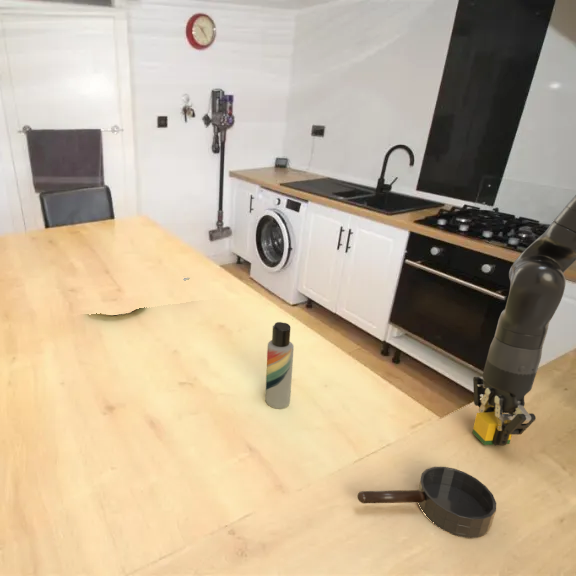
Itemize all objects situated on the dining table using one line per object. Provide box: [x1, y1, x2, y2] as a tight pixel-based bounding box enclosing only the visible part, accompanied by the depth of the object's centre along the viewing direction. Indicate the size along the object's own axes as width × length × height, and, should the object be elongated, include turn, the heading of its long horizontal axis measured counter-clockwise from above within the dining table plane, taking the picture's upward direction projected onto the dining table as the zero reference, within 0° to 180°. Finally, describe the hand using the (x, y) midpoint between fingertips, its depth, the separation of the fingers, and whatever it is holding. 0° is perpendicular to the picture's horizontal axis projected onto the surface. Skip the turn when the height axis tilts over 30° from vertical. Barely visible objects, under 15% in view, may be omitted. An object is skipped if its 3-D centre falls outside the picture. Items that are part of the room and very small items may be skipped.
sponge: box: [471, 412, 512, 446], centre depth 81 cm, size 5×4×5 cm
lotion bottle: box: [264, 321, 295, 410], centre depth 92 cm, size 6×6×20 cm
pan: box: [417, 466, 497, 539], centre depth 67 cm, size 10×10×4 cm
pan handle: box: [356, 489, 425, 504], centre depth 67 cm, size 11×2×2 cm, turn 90°
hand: (490, 436), depth 82 cm, fingers closed on sponge, 3 cm apart
